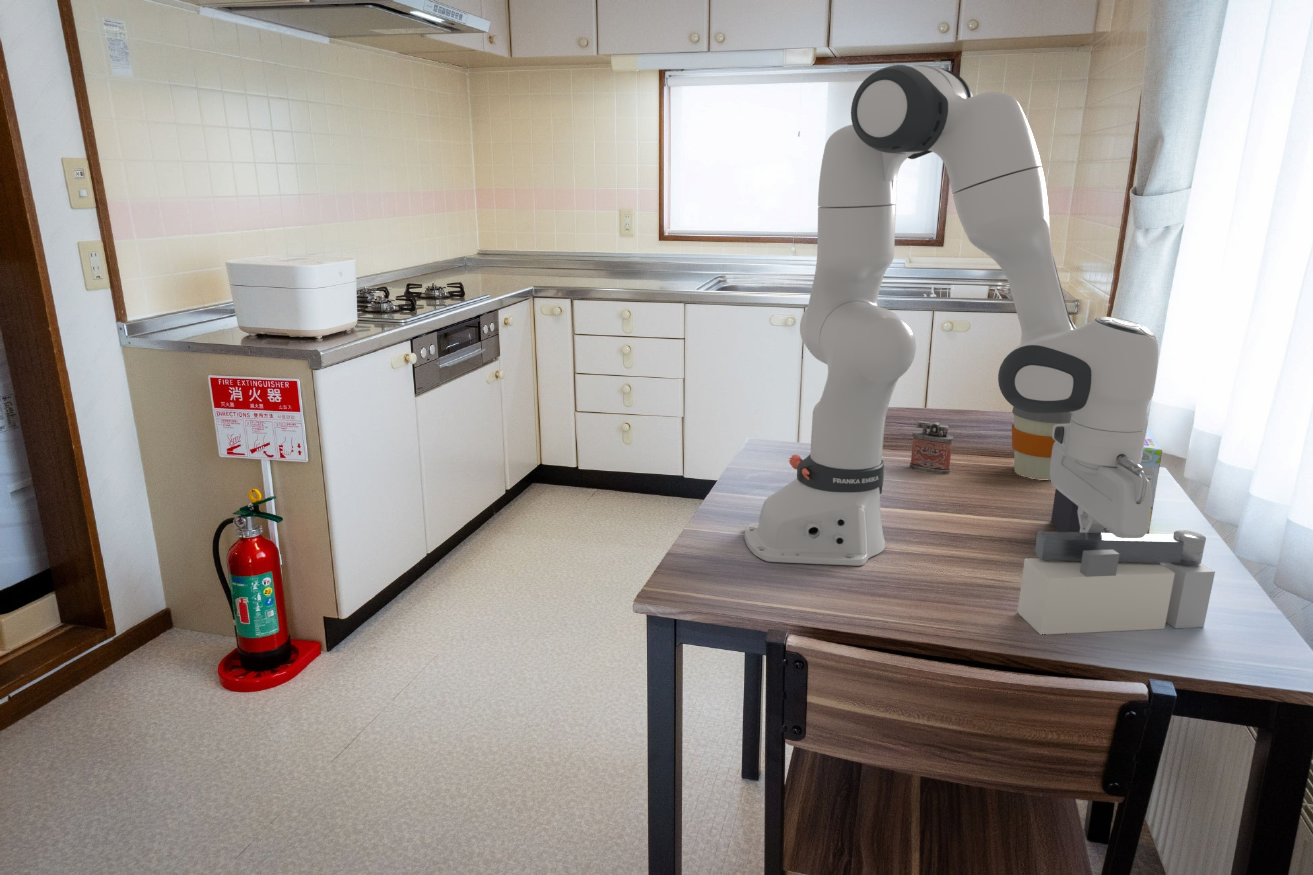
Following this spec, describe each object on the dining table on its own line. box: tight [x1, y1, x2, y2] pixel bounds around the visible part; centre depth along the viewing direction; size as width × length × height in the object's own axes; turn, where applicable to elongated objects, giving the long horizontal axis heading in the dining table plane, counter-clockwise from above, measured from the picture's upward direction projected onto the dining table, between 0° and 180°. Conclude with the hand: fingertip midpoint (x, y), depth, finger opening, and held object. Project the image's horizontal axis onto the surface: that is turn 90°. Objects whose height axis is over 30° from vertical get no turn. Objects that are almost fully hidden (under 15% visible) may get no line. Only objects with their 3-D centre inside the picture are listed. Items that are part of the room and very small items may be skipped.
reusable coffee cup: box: [1011, 406, 1072, 480], centre depth 170 cm, size 13×13×15 cm
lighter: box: [909, 420, 955, 476], centre depth 173 cm, size 8×3×10 cm, turn 58°
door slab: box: [1017, 549, 1175, 636], centre depth 113 cm, size 17×6×11 cm, turn 95°
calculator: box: [1050, 488, 1080, 532], centre depth 141 cm, size 11×4×15 cm, turn 168°
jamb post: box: [1160, 562, 1216, 629], centre depth 114 cm, size 4×6×8 cm, turn 5°
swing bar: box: [1034, 529, 1207, 565], centre depth 113 cm, size 21×4×3 cm, turn 87°
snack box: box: [1139, 426, 1163, 534], centre depth 151 cm, size 21×6×15 cm, turn 160°
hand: (1088, 542), depth 116 cm, fingers closed
